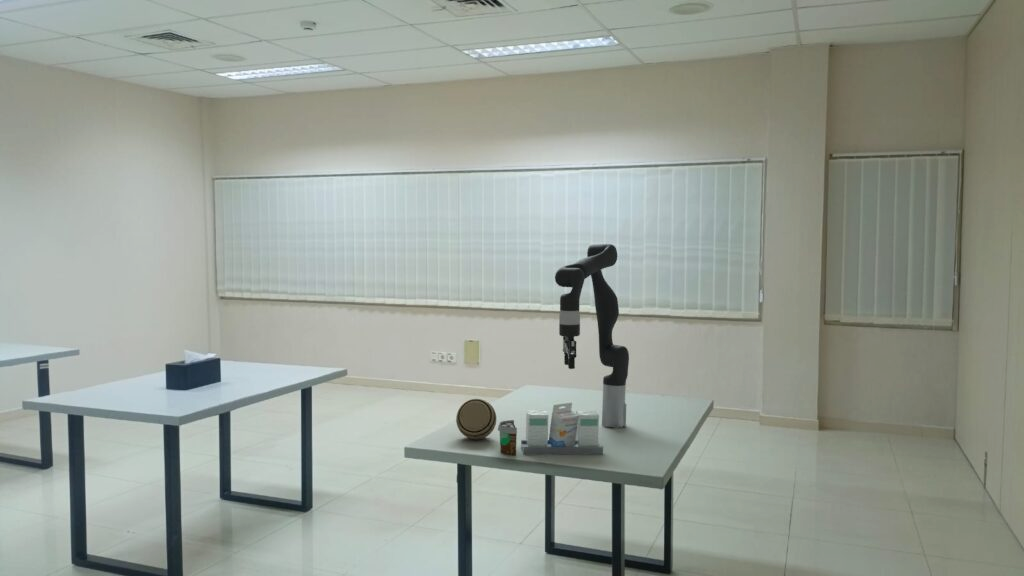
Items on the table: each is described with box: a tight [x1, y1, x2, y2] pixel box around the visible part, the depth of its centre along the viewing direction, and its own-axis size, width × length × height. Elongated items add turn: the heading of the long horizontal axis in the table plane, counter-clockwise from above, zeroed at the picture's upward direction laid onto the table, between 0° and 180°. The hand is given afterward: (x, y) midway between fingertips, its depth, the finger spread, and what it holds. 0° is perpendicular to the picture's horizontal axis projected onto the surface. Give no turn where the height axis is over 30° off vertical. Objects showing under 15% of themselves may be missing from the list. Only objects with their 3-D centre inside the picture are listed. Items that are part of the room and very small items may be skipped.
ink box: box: [548, 402, 579, 446], centre depth 261 cm, size 8×5×15 cm, turn 121°
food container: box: [497, 419, 518, 457], centre depth 259 cm, size 12×6×10 cm, turn 5°
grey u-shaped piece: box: [520, 410, 604, 455], centre depth 262 cm, size 28×10×14 cm, turn 94°
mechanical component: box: [455, 398, 497, 440], centre depth 276 cm, size 15×15×15 cm
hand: (569, 366), depth 269 cm, fingers open, 8 cm apart
